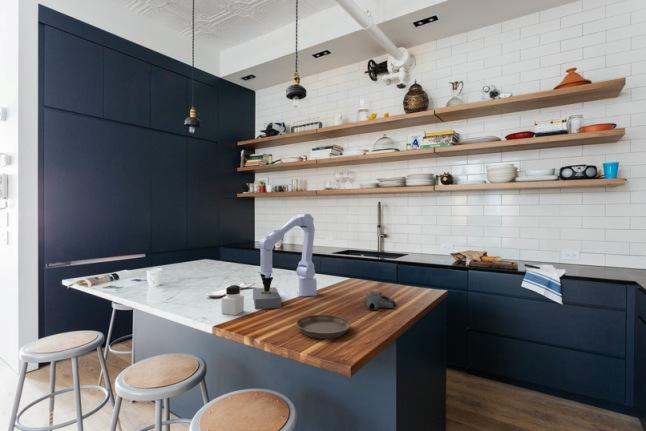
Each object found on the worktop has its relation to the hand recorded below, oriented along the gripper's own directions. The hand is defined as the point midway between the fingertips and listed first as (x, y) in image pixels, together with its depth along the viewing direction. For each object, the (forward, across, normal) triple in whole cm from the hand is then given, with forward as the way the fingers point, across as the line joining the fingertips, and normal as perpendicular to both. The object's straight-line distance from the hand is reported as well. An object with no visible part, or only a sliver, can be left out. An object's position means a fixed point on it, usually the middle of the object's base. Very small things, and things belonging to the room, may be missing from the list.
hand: (266, 289), depth 170 cm
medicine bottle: (+6, +14, -16) cm, 22 cm away
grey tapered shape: (+7, +16, +54) cm, 57 cm away
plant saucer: (+7, +45, +18) cm, 49 cm away
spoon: (+7, -24, -18) cm, 31 cm away
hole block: (+6, 0, 0) cm, 6 cm away
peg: (+6, 0, 0) cm, 6 cm away
